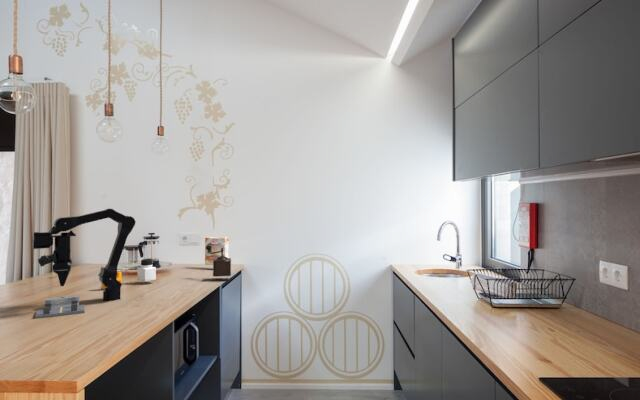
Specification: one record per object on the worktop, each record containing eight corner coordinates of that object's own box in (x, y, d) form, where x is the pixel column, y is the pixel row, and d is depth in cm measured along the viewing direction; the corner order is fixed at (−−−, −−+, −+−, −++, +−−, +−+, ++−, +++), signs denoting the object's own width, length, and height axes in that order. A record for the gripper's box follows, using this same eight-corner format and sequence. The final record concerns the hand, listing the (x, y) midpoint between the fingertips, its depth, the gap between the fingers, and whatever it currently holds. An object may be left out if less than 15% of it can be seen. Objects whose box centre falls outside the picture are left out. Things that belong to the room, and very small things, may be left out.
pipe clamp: (114, 283, 215) (114, 271, 215) (121, 284, 214) (121, 272, 214) (98, 288, 203) (98, 275, 203) (105, 288, 202) (105, 276, 202)
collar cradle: (84, 307, 166) (84, 298, 166) (84, 312, 157) (84, 303, 157) (37, 312, 158) (37, 303, 158) (35, 318, 149) (35, 309, 149)
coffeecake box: (204, 265, 278) (204, 237, 278) (209, 263, 285) (209, 236, 285) (224, 265, 276) (224, 237, 276) (228, 264, 283) (228, 236, 283)
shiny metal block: (78, 304, 172) (78, 294, 172) (79, 305, 169) (79, 296, 169) (44, 308, 165) (44, 298, 165) (44, 310, 162) (45, 300, 162)
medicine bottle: (156, 279, 225) (156, 258, 225) (144, 281, 219) (144, 260, 219) (148, 278, 229) (148, 257, 229) (137, 280, 223) (137, 259, 223)
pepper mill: (231, 272, 247) (231, 244, 247) (230, 276, 236) (230, 246, 236) (205, 273, 244) (205, 244, 244) (203, 276, 233) (203, 246, 234)
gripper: (41, 246, 171) (41, 282, 171) (37, 250, 155) (37, 290, 155) (71, 244, 177) (71, 279, 177) (70, 249, 161) (70, 287, 161)
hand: (62, 284), depth 167 cm, fingers open, 9 cm apart
